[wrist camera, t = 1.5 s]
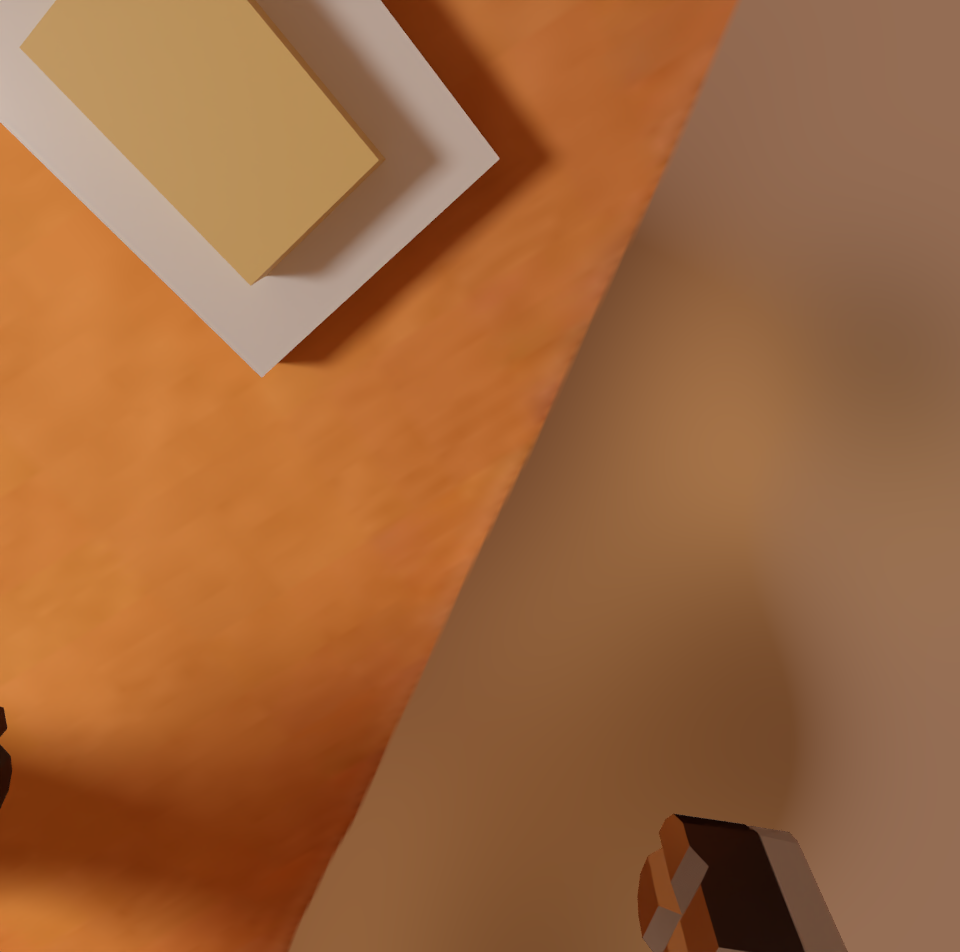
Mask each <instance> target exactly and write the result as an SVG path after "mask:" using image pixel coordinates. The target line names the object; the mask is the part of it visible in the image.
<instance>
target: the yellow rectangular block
mask: <svg viewBox="0 0 960 952" xmlns="http://www.w3.org/2000/svg"><path fill="white" fill-rule="evenodd" d="M19 48H20V49H21V50H22V51H23V52H24V53H25V54H26V55H27V56H28V57H29V58H30V59H31V60H32V61H33V62H34V63H35V64H36V65H37V66H38V67H39V68H40V69H41V70H42V71H43V72H44V74H45V75H46V76H47V77H48V78H49V79H50V80H51V81H52V82H53V83H54V84H55V85H56V86H57V87H58V88H59V89H60V90H61V91H62V92H63V93H64V94H65V95H66V96H67V97H68V98H69V99H70V100H71V101H72V102H73V103H74V104H75V105H76V107H77V108H78V109H79V110H80V111H81V112H82V113H83V114H84V115H85V116H86V117H87V118H88V119H89V120H90V121H91V122H92V123H93V124H94V125H95V126H96V127H97V128H98V129H99V130H100V131H101V132H102V133H103V134H104V135H105V136H106V137H107V138H108V139H109V141H110V142H111V143H112V144H113V145H114V146H115V147H116V148H117V149H118V150H119V151H120V152H121V153H122V154H123V155H124V156H125V157H126V158H127V159H128V160H129V161H130V162H131V163H132V164H133V165H134V166H135V167H136V168H137V169H138V170H139V171H140V172H141V173H142V175H143V176H144V177H145V178H146V179H147V180H148V181H149V182H150V183H151V184H152V185H153V186H154V187H155V188H156V189H157V190H158V191H159V192H160V193H161V194H162V195H163V196H164V197H165V198H166V199H167V200H168V201H169V202H170V203H171V204H172V205H173V206H174V207H175V209H176V210H177V211H178V212H179V213H180V214H181V215H182V216H183V217H184V218H185V219H186V220H187V221H188V222H189V223H190V224H191V225H192V226H193V227H194V228H195V229H196V230H197V231H198V232H199V233H200V234H201V235H202V236H203V237H204V238H205V239H206V240H207V241H208V243H209V244H210V245H211V246H212V247H213V248H214V249H215V250H216V251H217V252H218V253H219V254H220V255H221V256H222V257H223V258H224V259H225V260H226V261H227V262H228V263H229V264H230V265H231V266H232V267H233V268H234V269H235V270H236V271H237V272H238V273H239V274H240V275H241V277H242V278H243V279H244V280H245V281H246V282H247V283H248V284H249V285H250V286H251V285H253V284H254V283H256V282H257V281H259V280H261V279H262V278H264V277H265V276H267V275H268V274H269V273H270V272H271V271H272V270H273V269H274V268H275V267H276V266H277V265H278V264H279V263H280V262H281V261H282V260H283V259H284V258H285V257H286V256H287V255H288V254H289V253H290V252H291V251H292V250H293V249H294V248H295V247H296V246H297V245H298V244H299V243H301V242H302V241H303V240H304V239H305V238H306V237H307V236H308V235H309V234H310V233H311V232H312V231H313V230H314V229H315V228H316V227H317V226H318V225H319V224H320V223H321V222H322V221H323V220H324V219H325V218H326V217H327V216H328V215H329V214H330V213H331V212H332V211H333V210H334V209H335V208H336V207H337V206H339V205H340V204H341V203H342V202H343V201H344V200H345V199H346V198H347V197H348V196H349V195H350V194H351V193H352V192H353V191H354V190H355V189H356V188H357V187H358V186H359V185H360V184H361V183H362V182H363V181H364V180H365V179H366V178H367V177H368V176H369V175H370V174H371V173H372V172H373V171H374V170H375V169H376V168H378V167H379V166H380V165H381V164H382V163H383V162H384V161H385V160H386V159H385V158H384V157H383V155H382V154H381V153H380V152H379V150H378V149H377V148H376V147H375V146H374V144H373V143H372V142H371V141H370V140H369V138H368V137H367V136H366V135H365V133H364V132H363V131H362V130H361V129H360V127H359V126H358V125H357V124H356V122H355V121H354V120H353V119H352V118H351V116H350V115H349V114H348V113H347V111H346V110H345V109H344V108H343V107H342V105H341V104H340V103H339V102H338V100H337V99H336V98H335V97H334V96H333V94H332V93H331V92H330V91H329V89H328V88H327V87H326V86H325V85H324V83H323V82H322V81H321V80H320V79H319V77H318V76H317V75H316V74H315V72H314V71H313V70H312V69H311V68H310V66H309V65H308V64H307V63H306V61H305V60H304V59H303V58H302V57H301V55H300V54H299V53H298V52H297V50H296V49H295V48H294V47H293V46H292V44H291V43H290V42H289V41H288V39H287V38H286V37H285V36H284V35H283V33H282V32H281V31H280V30H279V28H278V27H277V26H276V25H275V24H274V22H273V21H272V20H271V19H270V18H269V16H268V15H267V14H266V13H265V11H264V10H263V9H262V8H261V7H260V5H259V4H258V3H257V2H256V0H56V1H55V2H54V3H53V5H52V6H51V7H50V9H49V10H48V11H47V12H46V14H45V15H44V16H43V18H42V19H41V20H40V21H39V23H38V24H37V25H36V27H35V28H34V29H33V30H32V32H31V33H30V34H29V36H28V37H27V38H26V39H25V41H24V42H23V43H22V45H21V46H20V47H19Z"/></svg>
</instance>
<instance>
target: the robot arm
mask: <svg viewBox="0 0 960 952" xmlns="http://www.w3.org/2000/svg"><path fill="white" fill-rule="evenodd" d="M6 729H7V724H6V718H5V713H4V708H3V707H0V737H1V735H2V734H3V733H4V732H5V731H6ZM11 774H12V766H11V756H10V755H9V754H8V753H7V751H6V750H5V749H4V748H3V747H2V746H1V745H0V808H1V806H2V804H3V801H4V799H5V797H6V795H7V793H8V790H9V785H10V779H11ZM659 835H660V839H661V843H662V848H661V849H659V850H657V851H656V852H654V853H652V854H651V855H649V856H648V857H647V859H646V862H645V864H644V867H643V869H642V871H641V874H640V881H639V889H638V914H639V921H640V926H641V932H642V938H643V939H644V941H645V942H646V943H647V945H648V946H649V947H650V948H651V950H652V951H653V952H847V950H846V947H845V945H844V943H843V941H842V938H841V936H840V934H839V932H838V930H837V927H836V925H835V923H834V921H833V919H832V916H831V914H830V912H829V910H828V907H827V905H826V903H825V901H824V899H823V896H822V894H821V892H820V890H819V887H818V886H817V883H816V881H815V879H814V876H813V874H812V872H811V870H810V868H809V866H808V863H807V861H806V859H805V857H804V854H803V852H802V850H801V848H800V845H799V843H798V841H797V840H796V839H795V838H794V837H793V836H792V835H791V834H790V833H789V832H785V831H778V830H773V829H766V828H760V827H754V826H746V825H745V824H739V823H732V822H726V821H719V820H712V819H705V818H699V817H692V816H685V815H679V814H672V815H671V816H669V817H668V818H667V819H666V820H665V822H664V823H663V825H662V828H661V829H660V831H659Z"/></svg>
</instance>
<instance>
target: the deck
mask: <svg viewBox="0 0 960 952" xmlns="http://www.w3.org/2000/svg"><path fill="white" fill-rule="evenodd" d="M55 1H56V0H0V122H1V123H2V124H3V125H4V126H5V127H6V128H7V129H8V130H9V131H10V132H11V133H12V134H13V135H14V136H15V137H16V138H17V139H18V140H19V141H20V142H21V143H22V144H23V145H24V146H25V147H26V148H27V149H28V150H29V151H30V152H32V153H33V154H34V155H35V156H36V157H37V158H38V159H39V160H40V161H41V162H42V163H43V164H44V165H45V166H46V167H47V168H48V169H49V170H50V171H51V172H52V173H53V174H54V175H55V176H56V177H57V178H58V179H59V180H60V181H61V182H62V183H63V184H64V185H65V186H66V187H67V188H68V189H69V190H70V191H71V192H72V193H73V194H74V195H75V196H76V197H78V198H79V199H80V200H81V201H82V202H83V203H84V204H85V205H86V206H87V207H88V208H89V209H90V210H91V211H92V212H93V213H94V214H95V215H96V216H97V217H98V218H99V219H100V220H101V221H102V222H103V223H104V224H105V225H106V226H107V227H108V228H109V229H110V230H111V231H112V232H113V233H114V234H115V235H116V236H117V237H118V238H119V239H120V240H121V241H123V242H124V243H125V244H126V245H127V246H128V247H129V248H130V249H131V250H132V251H133V252H134V253H135V254H136V255H137V256H138V257H139V258H140V259H141V260H142V261H143V262H144V263H145V264H146V265H147V266H148V267H149V268H150V269H151V270H152V271H153V272H154V273H155V274H156V275H157V276H158V277H159V278H160V279H161V280H162V281H163V282H164V283H165V284H166V285H168V286H169V287H170V288H171V289H172V290H173V291H174V292H175V293H176V294H177V295H178V296H179V297H180V298H181V299H182V300H183V301H184V302H185V303H186V304H187V305H188V306H189V307H190V308H191V309H192V310H193V311H194V312H195V313H196V314H197V315H198V316H199V317H200V318H201V319H202V320H203V321H204V322H205V323H206V324H207V325H208V326H209V327H210V328H211V329H213V330H214V331H215V332H216V333H217V334H218V335H219V336H220V337H221V338H222V339H223V340H224V341H225V342H226V343H227V344H228V345H229V346H230V347H231V348H232V349H233V350H234V351H235V352H236V353H237V354H238V355H239V356H240V357H241V358H242V359H243V360H244V361H245V362H246V363H247V364H248V365H249V366H250V367H251V368H252V369H253V370H254V371H255V372H256V373H258V374H259V375H260V376H261V377H263V376H264V375H265V374H266V373H267V372H268V371H269V370H271V369H272V368H273V367H274V366H275V365H276V364H277V363H278V362H279V361H280V360H281V359H283V358H284V357H285V356H286V355H287V354H288V353H289V352H290V351H291V350H292V349H293V348H294V347H296V346H297V345H298V344H299V343H300V342H301V341H302V340H303V339H304V338H305V337H306V336H308V335H309V334H310V333H311V332H312V331H313V330H314V329H315V328H316V327H317V326H318V325H320V324H321V323H322V322H323V321H324V320H325V319H326V318H327V317H328V316H329V315H330V314H331V313H333V312H334V311H335V310H336V309H337V308H338V307H339V306H340V305H341V304H342V303H343V302H345V301H346V300H347V299H348V298H349V297H350V296H351V295H352V294H353V293H354V292H355V291H357V290H358V289H359V288H360V287H361V286H362V285H363V284H364V283H365V282H366V281H367V280H369V279H370V278H371V277H372V276H373V275H374V274H375V273H376V272H377V271H378V270H379V269H380V268H382V267H383V266H384V265H385V264H386V263H387V262H388V261H389V260H390V259H391V258H392V257H394V256H395V255H396V254H397V253H398V252H399V251H400V250H401V249H402V248H403V247H404V246H406V245H407V244H408V243H409V242H410V241H411V240H412V239H413V238H414V237H415V236H416V235H417V234H419V233H420V232H421V231H422V230H423V229H424V228H425V227H426V226H427V225H428V224H429V223H431V222H432V221H433V220H434V219H435V218H436V217H437V216H438V215H439V214H440V213H441V212H443V211H444V210H445V209H446V208H447V207H448V206H449V205H450V204H451V203H452V202H453V201H454V200H456V199H457V198H458V197H459V196H460V195H461V194H462V193H463V192H464V191H465V190H466V189H468V188H469V187H470V186H471V185H472V184H473V183H474V182H475V181H476V180H477V179H478V178H480V177H481V176H482V175H483V174H484V173H485V172H486V171H487V170H488V169H489V168H490V167H492V166H493V165H494V164H495V163H496V162H497V161H498V160H499V159H500V158H499V157H498V155H497V154H496V153H495V152H494V150H493V149H492V148H491V146H490V145H489V144H488V142H487V141H486V140H485V138H484V137H483V136H482V134H481V133H480V132H479V130H478V129H477V128H476V126H475V125H474V124H473V122H472V121H471V120H470V118H469V117H468V116H467V114H466V113H465V112H464V110H463V109H462V108H461V106H460V105H459V104H458V102H457V101H456V100H455V98H454V97H453V96H452V94H451V93H450V92H449V90H448V89H447V88H446V86H445V85H444V84H443V82H442V81H441V80H440V78H439V77H438V76H437V74H436V73H435V72H434V70H433V69H432V68H431V66H430V65H429V64H428V62H427V61H426V60H425V59H424V57H423V56H422V55H421V53H420V52H419V51H418V49H417V48H416V47H415V45H414V44H413V43H412V41H411V40H410V39H409V37H408V36H407V35H406V33H405V32H404V31H403V29H402V28H401V27H400V25H399V24H398V23H397V21H396V20H395V19H394V17H393V16H392V15H391V13H390V12H389V11H388V9H387V8H386V7H385V5H384V4H383V3H382V1H381V0H256V2H257V3H258V4H259V5H260V7H261V8H262V9H263V10H264V11H265V13H266V14H267V15H268V16H269V18H270V19H271V20H272V21H273V22H274V24H275V25H276V26H277V27H278V28H279V30H280V31H281V32H282V33H283V35H284V36H285V37H286V38H287V39H288V41H289V42H290V43H291V44H292V46H293V47H294V48H295V49H296V50H297V52H298V53H299V54H300V55H301V57H302V58H303V59H304V60H305V61H306V63H307V64H308V65H309V66H310V68H311V69H312V70H313V71H314V72H315V74H316V75H317V76H318V77H319V79H320V80H321V81H322V82H323V83H324V85H325V86H326V87H327V88H328V89H329V91H330V92H331V93H332V94H333V96H334V97H335V98H336V99H337V100H338V102H339V103H340V104H341V105H342V107H343V108H344V109H345V110H346V111H347V113H348V114H349V115H350V116H351V118H352V119H353V120H354V121H355V122H356V124H357V125H358V126H359V127H360V129H361V130H362V131H363V132H364V133H365V135H366V136H367V137H368V138H369V140H370V141H371V142H372V143H373V144H374V146H375V147H376V148H377V149H378V150H379V152H380V153H381V154H382V155H383V157H384V158H385V159H386V160H385V161H384V162H383V163H382V164H381V165H380V166H379V167H378V168H376V169H375V170H374V171H373V172H372V173H371V174H370V175H369V176H368V177H367V178H366V179H365V180H364V181H363V182H362V183H361V184H360V185H359V186H358V187H357V188H356V189H355V190H354V191H353V192H352V193H351V194H350V195H349V196H348V197H347V198H346V199H345V200H344V201H343V202H342V203H341V204H340V205H339V206H337V207H336V208H335V209H334V210H333V211H332V212H331V213H330V214H329V215H328V216H327V217H326V218H325V219H324V220H323V221H322V222H321V223H320V224H319V225H318V226H317V227H316V228H315V229H314V230H313V231H312V232H311V233H310V234H309V235H308V236H307V237H306V238H305V239H304V240H303V241H302V242H301V243H299V244H298V245H297V246H296V247H295V248H294V249H293V250H292V251H291V252H290V253H289V254H288V255H287V256H286V257H285V258H284V259H283V260H282V261H281V262H280V263H279V264H278V265H277V266H276V267H275V268H274V269H273V270H272V271H271V272H270V273H269V274H268V275H267V276H265V277H264V278H262V279H261V280H259V281H257V282H256V283H254V284H253V285H251V286H250V285H249V284H248V283H247V282H246V281H245V280H244V279H243V278H242V277H241V275H240V274H239V273H238V272H237V271H236V270H235V269H234V268H233V267H232V266H231V265H230V264H229V263H228V262H227V261H226V260H225V259H224V258H223V257H222V256H221V255H220V254H219V253H218V252H217V251H216V250H215V249H214V248H213V247H212V246H211V245H210V244H209V243H208V241H207V240H206V239H205V238H204V237H203V236H202V235H201V234H200V233H199V232H198V231H197V230H196V229H195V228H194V227H193V226H192V225H191V224H190V223H189V222H188V221H187V220H186V219H185V218H184V217H183V216H182V215H181V214H180V213H179V212H178V211H177V210H176V209H175V207H174V206H173V205H172V204H171V203H170V202H169V201H168V200H167V199H166V198H165V197H164V196H163V195H162V194H161V193H160V192H159V191H158V190H157V189H156V188H155V187H154V186H153V185H152V184H151V183H150V182H149V181H148V180H147V179H146V178H145V177H144V176H143V175H142V173H141V172H140V171H139V170H138V169H137V168H136V167H135V166H134V165H133V164H132V163H131V162H130V161H129V160H128V159H127V158H126V157H125V156H124V155H123V154H122V153H121V152H120V151H119V150H118V149H117V148H116V147H115V146H114V145H113V144H112V143H111V142H110V141H109V139H108V138H107V137H106V136H105V135H104V134H103V133H102V132H101V131H100V130H99V129H98V128H97V127H96V126H95V125H94V124H93V123H92V122H91V121H90V120H89V119H88V118H87V117H86V116H85V115H84V114H83V113H82V112H81V111H80V110H79V109H78V108H77V107H76V105H75V104H74V103H73V102H72V101H71V100H70V99H69V98H68V97H67V96H66V95H65V94H64V93H63V92H62V91H61V90H60V89H59V88H58V87H57V86H56V85H55V84H54V83H53V82H52V81H51V80H50V79H49V78H48V77H47V76H46V75H45V74H44V72H43V71H42V70H41V69H40V68H39V67H38V66H37V65H36V64H35V63H34V62H33V61H32V60H31V59H30V58H29V57H28V56H27V55H26V54H25V53H24V52H23V51H22V50H21V49H20V48H19V47H20V46H21V45H22V43H23V42H24V41H25V39H26V38H27V37H28V36H29V34H30V33H31V32H32V30H33V29H34V28H35V27H36V25H37V24H38V23H39V21H40V20H41V19H42V18H43V16H44V15H45V14H46V12H47V11H48V10H49V9H50V7H51V6H52V5H53V3H54V2H55Z"/></svg>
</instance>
